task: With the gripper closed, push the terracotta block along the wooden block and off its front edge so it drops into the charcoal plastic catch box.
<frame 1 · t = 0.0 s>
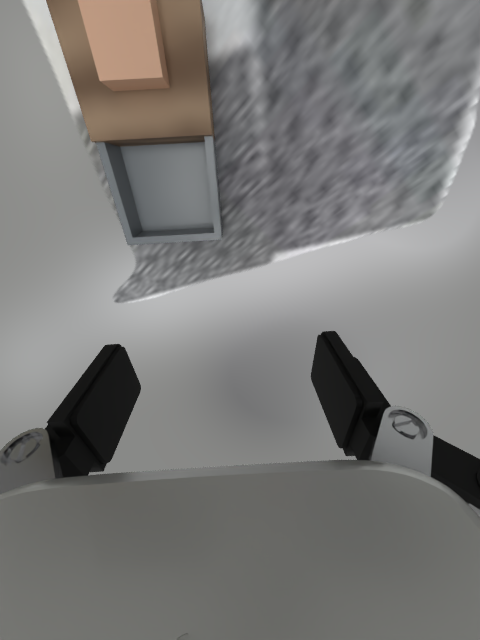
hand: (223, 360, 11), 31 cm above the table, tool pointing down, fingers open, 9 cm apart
catch box: (173, 194, 34), on the table
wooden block: (154, 89, 28), on the table
terracotta block: (133, 47, 22), point 6 cm above the table, touching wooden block
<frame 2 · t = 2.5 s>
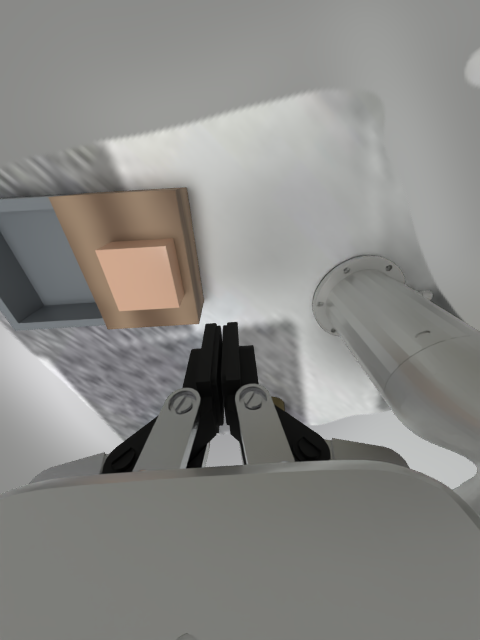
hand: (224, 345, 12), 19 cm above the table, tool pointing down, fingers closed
catch box: (62, 259, 28), on the table
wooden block: (153, 254, 28), on the table
terracotta block: (150, 269, 23), point 6 cm above the table, touching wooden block
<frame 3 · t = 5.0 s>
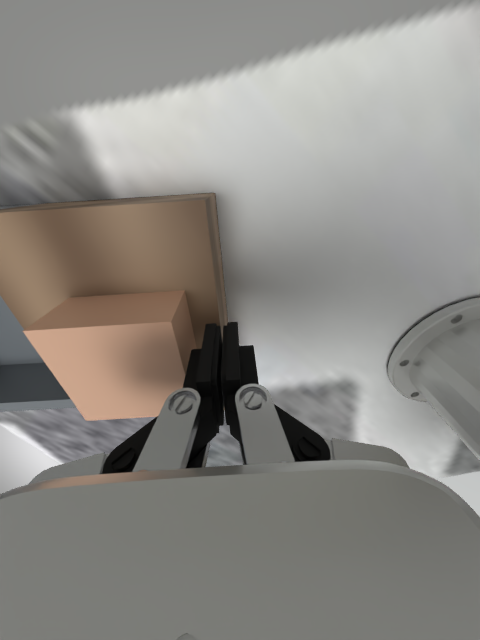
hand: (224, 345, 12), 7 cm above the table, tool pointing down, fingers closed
catch box: (18, 303, 18), on the table
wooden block: (157, 295, 18), on the table
terracotta block: (143, 340, 13), point 6 cm above the table, touching gripper
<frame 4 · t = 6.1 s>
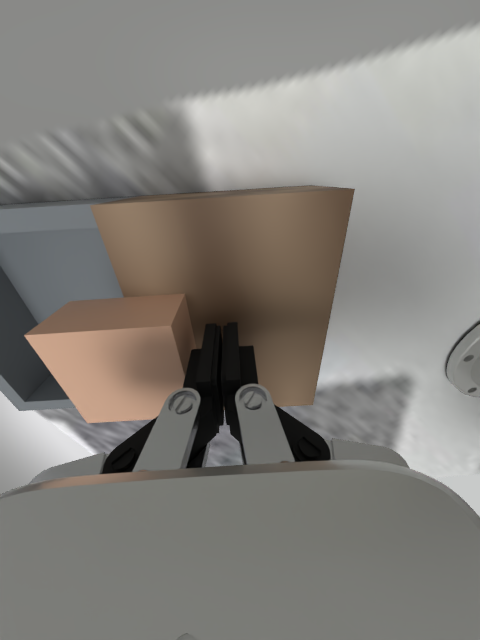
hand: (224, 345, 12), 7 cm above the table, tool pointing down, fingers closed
catch box: (92, 298, 18), on the table
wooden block: (233, 290, 18), on the table
terracotta block: (144, 342, 13), point 6 cm above the table, touching gripper
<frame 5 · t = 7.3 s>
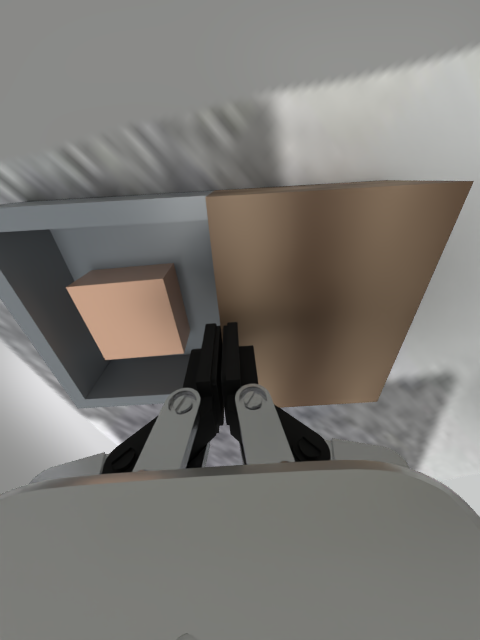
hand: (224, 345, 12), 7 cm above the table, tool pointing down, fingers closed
catch box: (149, 295, 18), on the table
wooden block: (292, 286, 18), on the table
terracotta block: (131, 323, 15), point 3 cm above the table, tilted 180°, touching catch box
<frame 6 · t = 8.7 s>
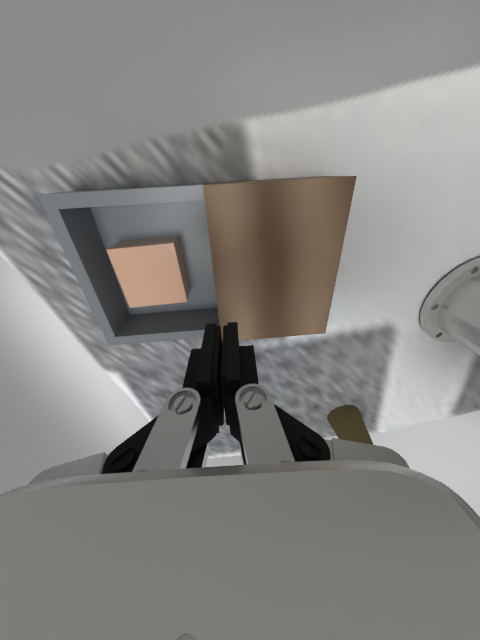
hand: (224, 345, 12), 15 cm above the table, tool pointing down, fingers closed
cork: (342, 414, 43), on the table
catch box: (160, 261, 24), on the table
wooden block: (265, 254, 25), on the table
terracotta block: (149, 277, 21), point 3 cm above the table, tilted 180°, touching catch box
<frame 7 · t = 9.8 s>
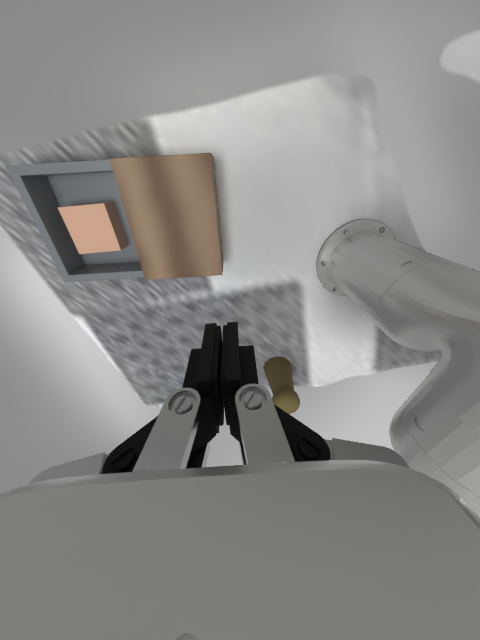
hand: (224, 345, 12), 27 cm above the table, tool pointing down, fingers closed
cork: (276, 366, 51), on the table
catch box: (104, 222, 33), on the table
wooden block: (181, 217, 33), on the table
terracotta block: (90, 230, 30), point 3 cm above the table, tilted 180°, touching catch box
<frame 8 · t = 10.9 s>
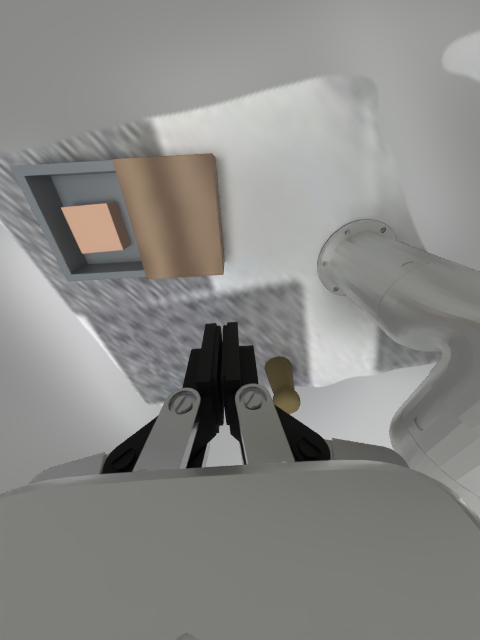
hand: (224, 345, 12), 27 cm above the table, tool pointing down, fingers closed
cork: (277, 366, 51), on the table
catch box: (106, 222, 33), on the table
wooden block: (183, 217, 33), on the table
terracotta block: (93, 229, 30), point 3 cm above the table, tilted 180°, touching catch box
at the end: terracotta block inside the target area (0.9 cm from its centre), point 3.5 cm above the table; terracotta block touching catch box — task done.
